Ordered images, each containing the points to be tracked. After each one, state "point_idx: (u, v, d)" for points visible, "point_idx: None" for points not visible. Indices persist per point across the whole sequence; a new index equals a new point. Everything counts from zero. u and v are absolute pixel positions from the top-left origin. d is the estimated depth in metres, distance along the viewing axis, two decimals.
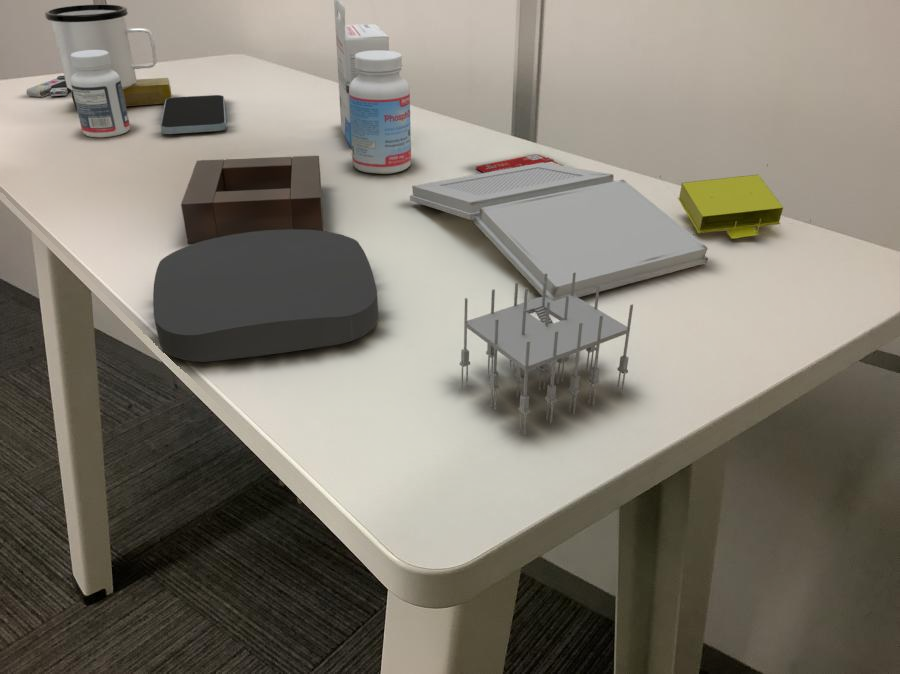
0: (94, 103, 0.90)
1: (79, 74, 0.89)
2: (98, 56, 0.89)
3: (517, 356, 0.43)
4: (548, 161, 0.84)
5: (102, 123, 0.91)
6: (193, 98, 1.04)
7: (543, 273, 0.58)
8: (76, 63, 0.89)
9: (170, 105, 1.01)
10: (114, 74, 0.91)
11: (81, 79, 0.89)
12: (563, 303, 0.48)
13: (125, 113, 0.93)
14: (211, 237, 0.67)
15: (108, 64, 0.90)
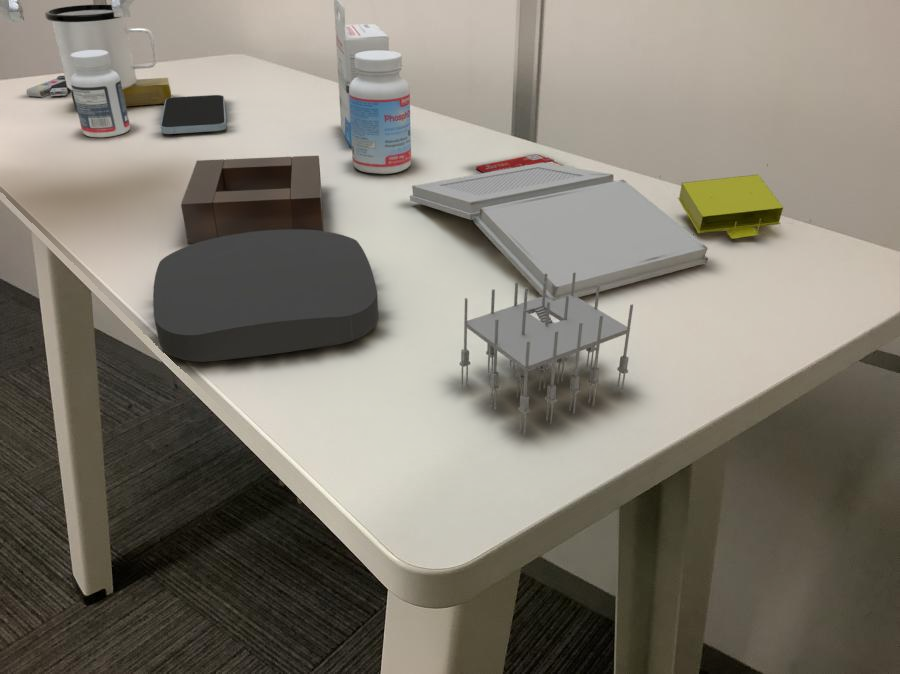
0: (94, 103, 0.90)
1: (79, 74, 0.89)
2: (98, 56, 0.89)
3: (517, 356, 0.43)
4: (548, 161, 0.84)
5: (102, 123, 0.91)
6: (193, 98, 1.04)
7: (543, 273, 0.58)
8: (76, 63, 0.89)
9: (170, 105, 1.01)
10: (114, 74, 0.91)
11: (81, 79, 0.89)
12: (563, 303, 0.48)
13: (125, 113, 0.93)
14: (211, 237, 0.67)
15: (108, 64, 0.90)
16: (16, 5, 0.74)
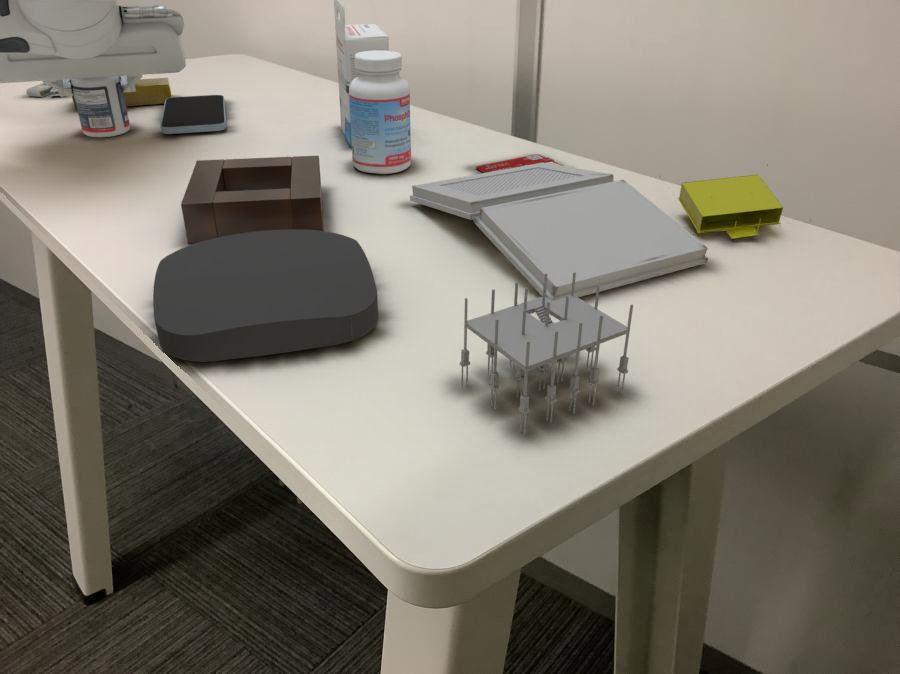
0: (94, 103, 0.90)
1: None
2: None
3: (517, 356, 0.43)
4: (548, 161, 0.84)
5: (102, 123, 0.91)
6: (193, 98, 1.04)
7: (543, 273, 0.58)
8: None
9: (170, 105, 1.01)
10: None
11: (82, 79, 0.89)
12: (563, 303, 0.48)
13: (125, 113, 0.93)
14: (211, 237, 0.67)
15: None
16: (69, 83, 0.90)
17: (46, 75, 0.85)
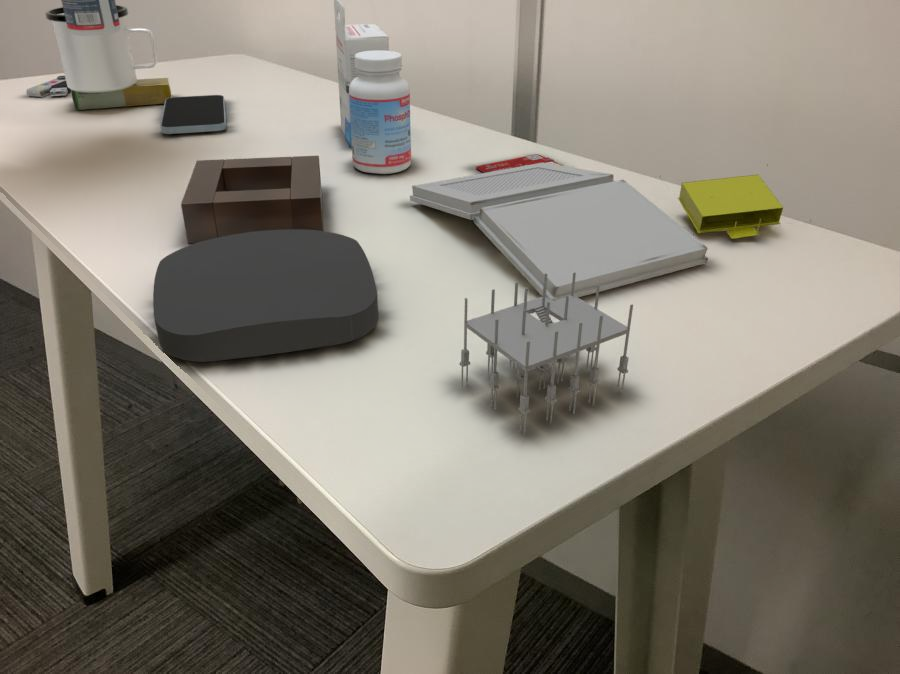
0: None
1: None
2: None
3: (517, 356, 0.43)
4: (548, 161, 0.84)
5: (89, 19, 0.84)
6: (193, 98, 1.04)
7: (543, 273, 0.58)
8: None
9: (170, 105, 1.01)
10: None
11: None
12: (563, 303, 0.48)
13: (115, 11, 0.86)
14: (211, 237, 0.67)
15: None
16: None
17: None
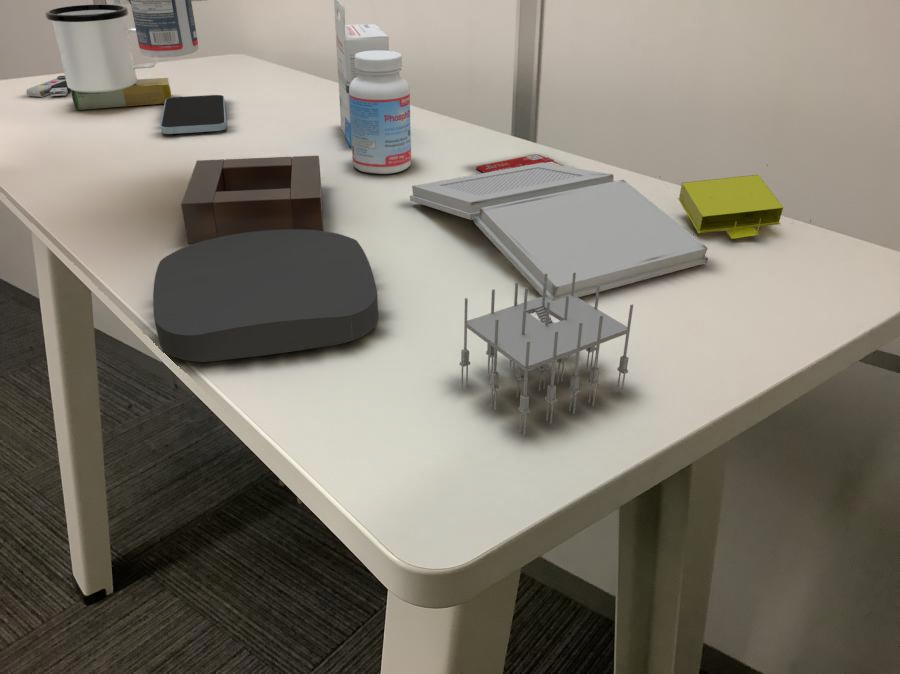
0: (157, 11, 0.71)
1: None
2: None
3: (517, 356, 0.43)
4: (548, 161, 0.84)
5: (166, 38, 0.72)
6: (193, 98, 1.04)
7: (543, 273, 0.58)
8: None
9: (170, 105, 1.01)
10: None
11: None
12: (563, 303, 0.48)
13: (194, 28, 0.74)
14: (211, 237, 0.67)
15: None
16: None
17: None
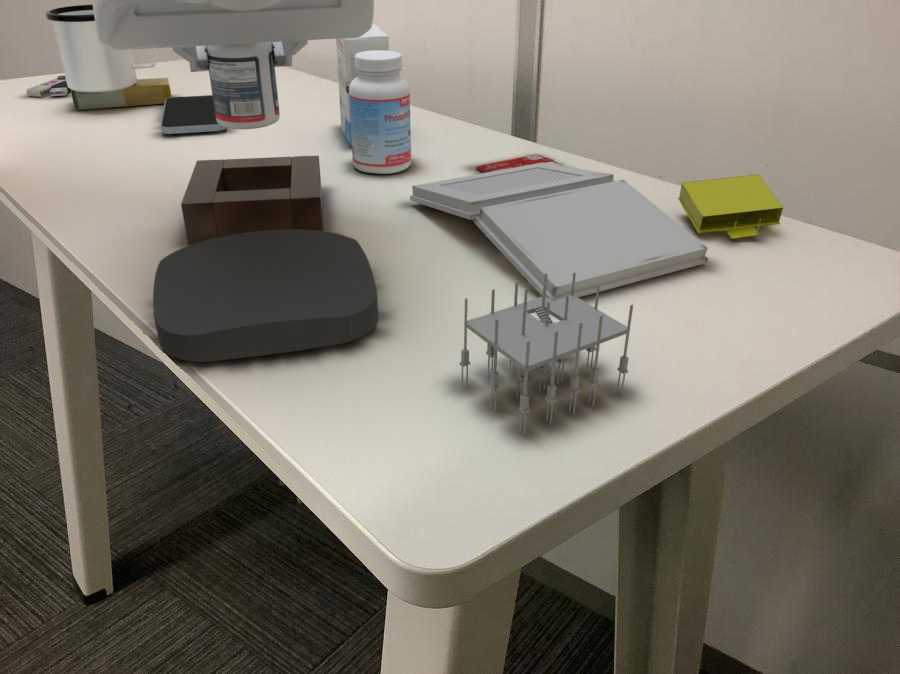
0: (240, 80, 0.64)
1: None
2: None
3: (517, 356, 0.43)
4: (548, 161, 0.84)
5: (248, 109, 0.65)
6: (193, 98, 1.04)
7: (543, 273, 0.58)
8: None
9: (170, 105, 1.01)
10: None
11: (225, 46, 0.63)
12: (563, 303, 0.48)
13: (276, 96, 0.67)
14: (211, 237, 0.67)
15: None
16: (204, 53, 0.63)
17: (182, 39, 0.59)
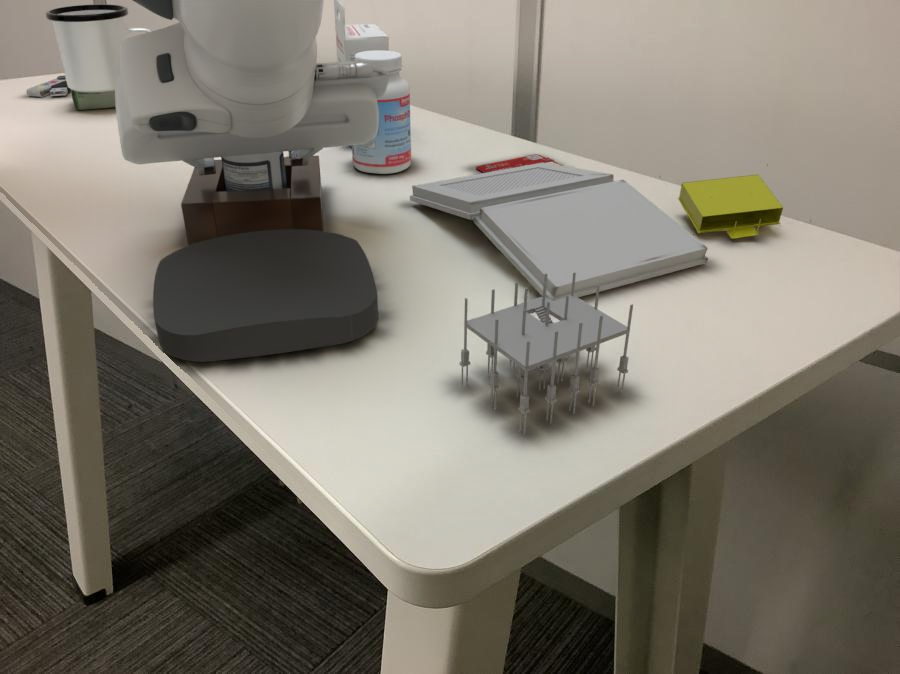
0: (253, 182, 0.68)
1: None
2: None
3: (517, 356, 0.43)
4: (548, 161, 0.84)
5: None
6: None
7: (543, 273, 0.58)
8: None
9: None
10: None
11: None
12: (563, 303, 0.48)
13: None
14: (211, 237, 0.67)
15: None
16: (212, 159, 0.68)
17: (200, 153, 0.63)
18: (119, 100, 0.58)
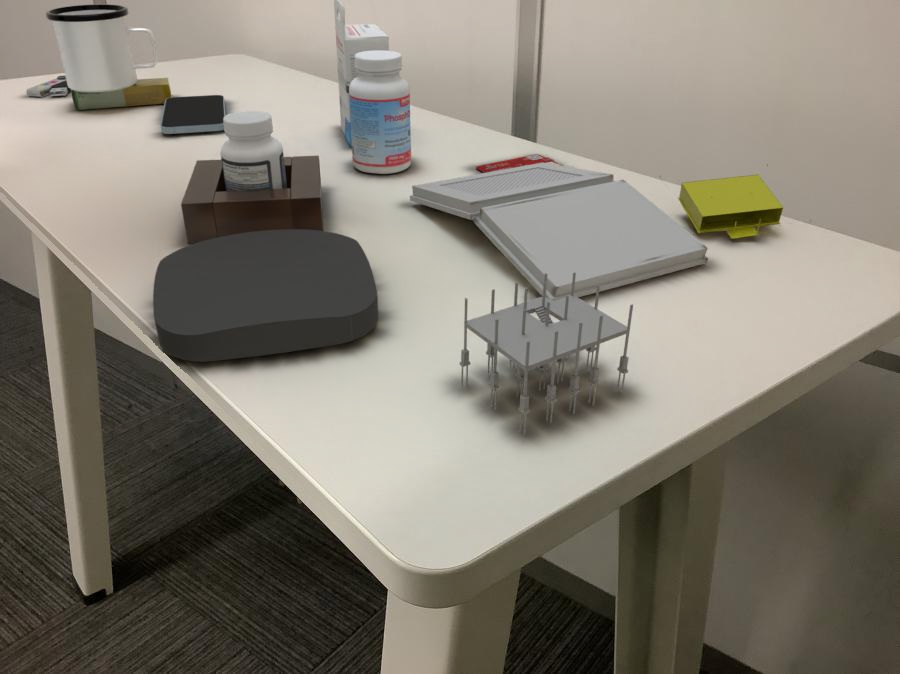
0: (253, 182, 0.68)
1: (234, 144, 0.67)
2: (261, 121, 0.67)
3: (517, 356, 0.43)
4: (548, 161, 0.84)
5: None
6: (193, 98, 1.04)
7: (543, 273, 0.58)
8: (232, 131, 0.66)
9: (170, 105, 1.01)
10: (277, 144, 0.69)
11: (238, 151, 0.67)
12: (563, 303, 0.48)
13: None
14: (211, 237, 0.67)
15: (271, 131, 0.68)
16: None
17: None
18: None
